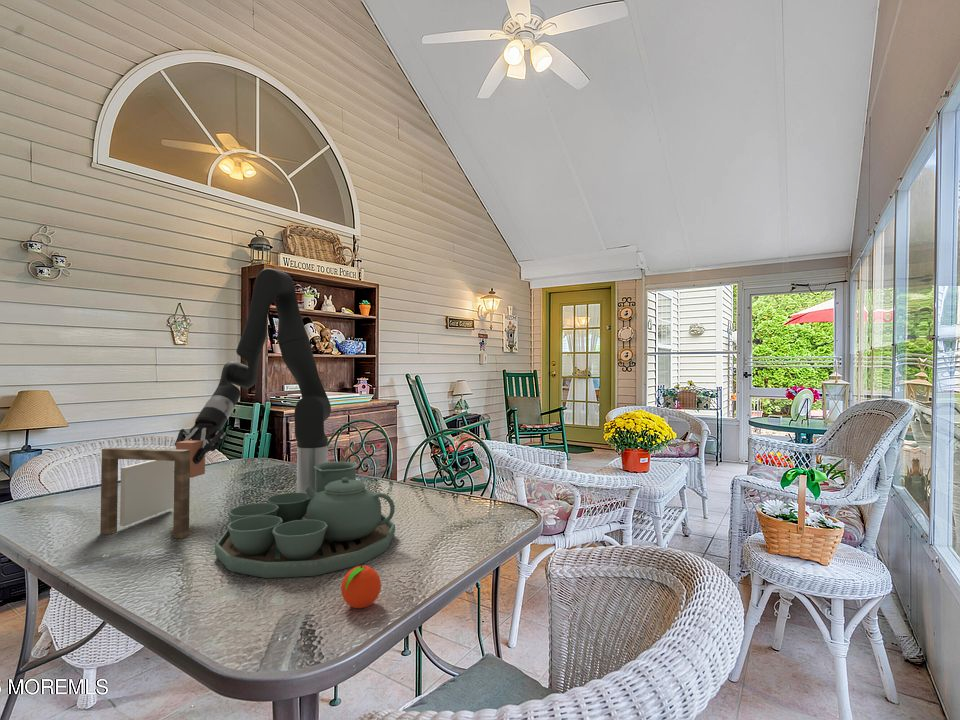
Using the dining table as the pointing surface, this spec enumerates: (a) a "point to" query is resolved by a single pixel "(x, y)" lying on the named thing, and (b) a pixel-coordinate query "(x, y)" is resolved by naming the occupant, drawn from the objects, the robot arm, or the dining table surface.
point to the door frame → (177, 455)
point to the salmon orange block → (193, 447)
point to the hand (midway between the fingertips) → (185, 461)
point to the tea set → (308, 528)
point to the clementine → (361, 586)
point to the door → (146, 490)
